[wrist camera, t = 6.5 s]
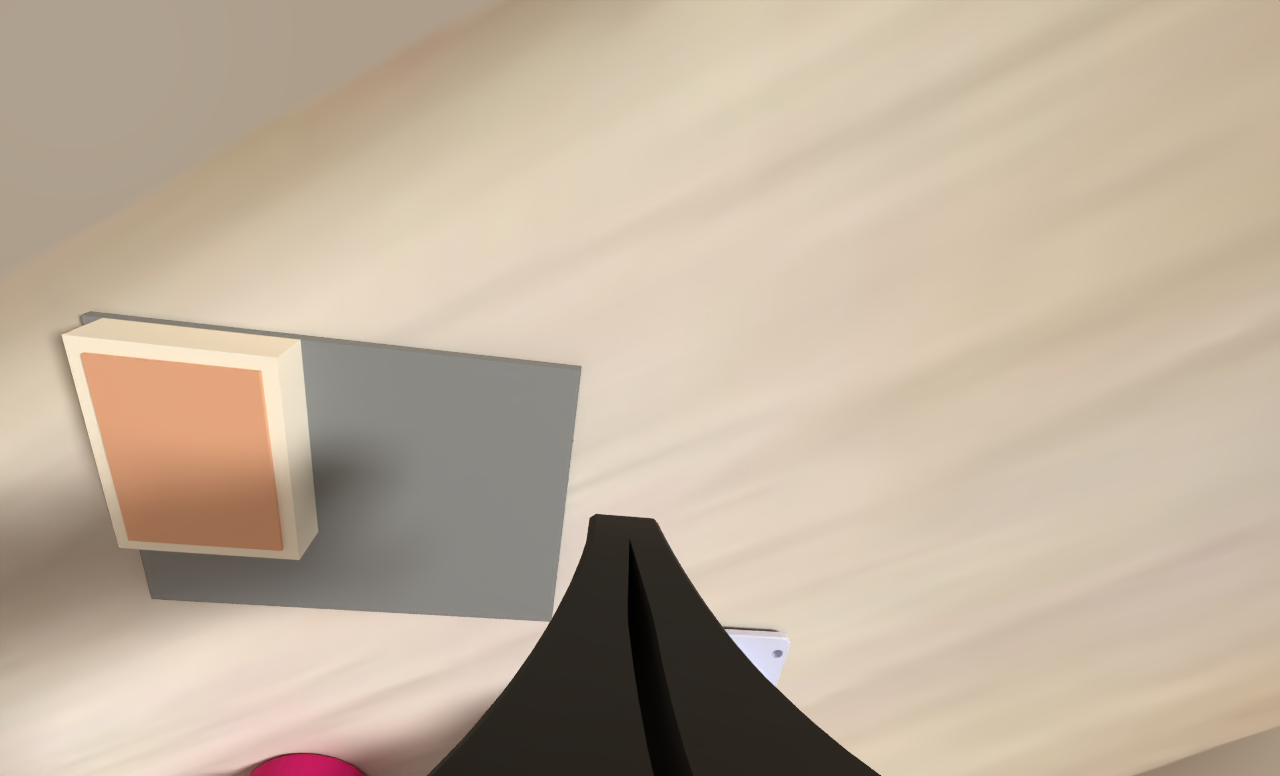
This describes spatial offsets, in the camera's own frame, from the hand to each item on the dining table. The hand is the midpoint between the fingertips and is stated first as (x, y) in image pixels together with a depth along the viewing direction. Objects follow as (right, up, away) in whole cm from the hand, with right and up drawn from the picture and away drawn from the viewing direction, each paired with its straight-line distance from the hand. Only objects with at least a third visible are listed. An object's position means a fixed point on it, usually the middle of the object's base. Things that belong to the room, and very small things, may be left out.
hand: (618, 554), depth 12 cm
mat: (-10, 0, +10) cm, 15 cm away
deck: (-11, +1, +8) cm, 14 cm away
